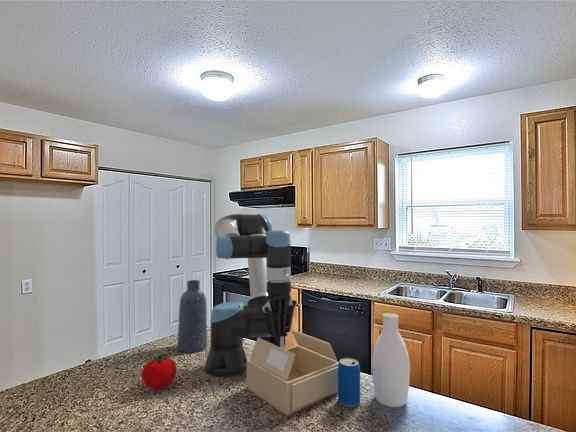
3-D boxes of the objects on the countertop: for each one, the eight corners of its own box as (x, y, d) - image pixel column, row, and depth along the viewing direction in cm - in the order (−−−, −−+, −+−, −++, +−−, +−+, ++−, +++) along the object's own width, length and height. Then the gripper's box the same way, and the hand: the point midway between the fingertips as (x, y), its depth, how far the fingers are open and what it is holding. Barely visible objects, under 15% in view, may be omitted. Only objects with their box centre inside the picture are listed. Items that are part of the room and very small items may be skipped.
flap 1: (249, 359, 107) (257, 337, 109) (250, 359, 107) (259, 337, 109) (285, 379, 93) (294, 353, 95) (287, 379, 93) (295, 354, 96)
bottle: (390, 413, 94) (390, 322, 94) (364, 395, 104) (364, 312, 104) (418, 404, 99) (418, 317, 100) (390, 387, 109) (390, 308, 109)
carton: (245, 388, 108) (245, 359, 108) (296, 369, 122) (296, 344, 122) (288, 418, 91) (289, 384, 91) (342, 392, 105) (342, 363, 106)
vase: (203, 353, 137) (204, 283, 138) (173, 353, 137) (174, 283, 137) (209, 342, 149) (210, 278, 150) (182, 342, 149) (183, 278, 150)
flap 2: (337, 360, 107) (329, 343, 105) (336, 361, 106) (328, 344, 104) (299, 344, 121) (291, 329, 118) (298, 345, 120) (291, 330, 118)
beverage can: (360, 409, 96) (360, 367, 96) (337, 407, 97) (337, 365, 97) (360, 398, 102) (360, 358, 102) (338, 396, 103) (338, 356, 104)
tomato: (182, 386, 108) (182, 355, 109) (150, 398, 101) (151, 365, 101) (166, 376, 115) (167, 347, 116) (135, 387, 108) (136, 355, 108)
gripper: (270, 284, 97) (271, 367, 96) (301, 279, 105) (303, 354, 105) (255, 281, 102) (256, 359, 102) (286, 276, 111) (287, 348, 110)
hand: (280, 357), depth 103 cm, fingers closed
